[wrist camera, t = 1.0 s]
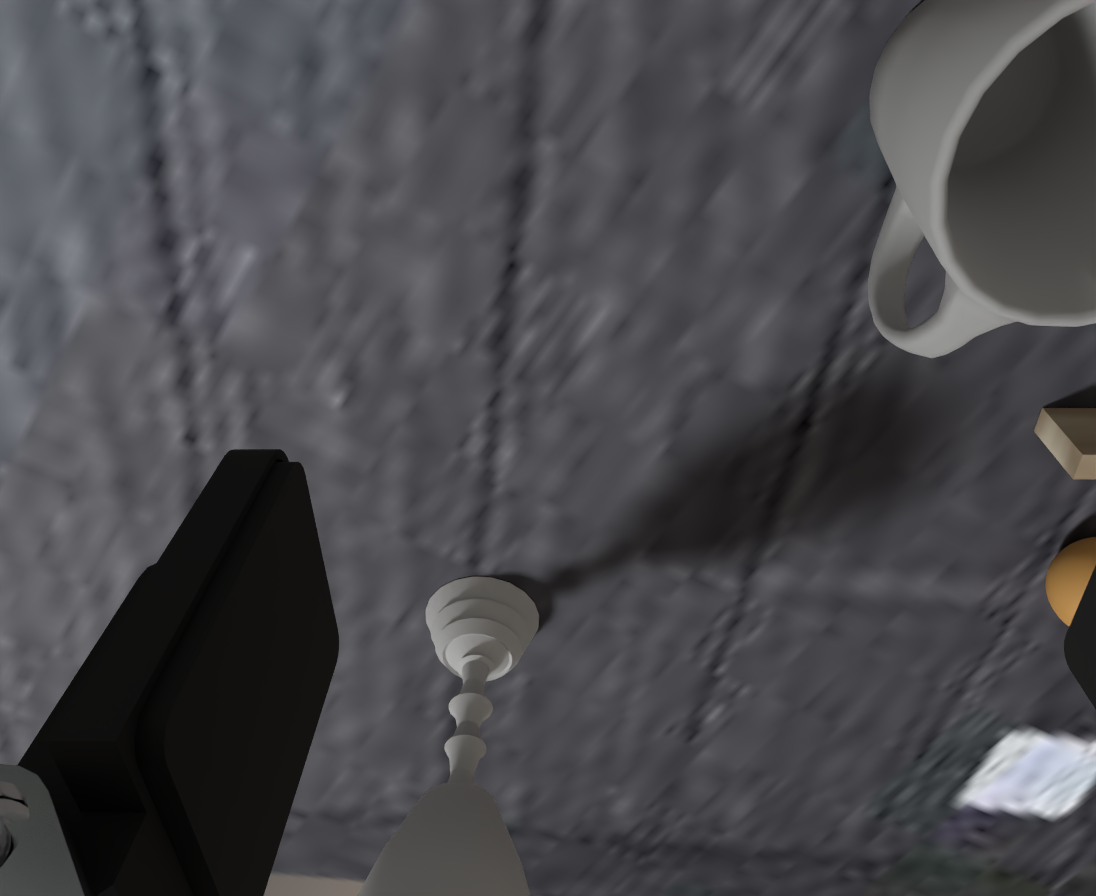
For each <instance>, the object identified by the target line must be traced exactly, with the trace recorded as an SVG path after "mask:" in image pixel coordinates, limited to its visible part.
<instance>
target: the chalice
mask: <svg viewBox="0 0 1096 896" xmlns="http://www.w3.org/2000/svg"><path fill="white" fill-rule="evenodd" d="M426 623H427V625H428V627H429V629H430V631H431V638H432V640H433V642H434V644H435V647H436V653H437V655H438V657H439V659H440V661H441V662H442V663H443V664H444V665H445V666H446V667H447V668H448V669H449V670H450V671H451V672H452V673H453V674H455V675H457V676H459V677H461V678H463V687H462V689H461V692H460V694H459V695H458V696H456V697H454V698H453V699H452V700H451V701H450V704H449V711H450V713H451V714H452V715H453V716H454V717H455V718H456V723H457V729H456V731H455V733H454V735H453V737H451V738H450V739H449V740H448V741H447V742H446V744H445V751H446V754H447V755H448V757H449V760H450V773H451V775H450V778H449V780H448V783H444V784H439V785H437V786H435V787H432V788H430V789H429V790H428V791H426V792H425V793H424V794H423V795H422V797H421V798H420V799H419V801H418V802H417V803H416V805H415V806H414V807H413V809H412V810H411V811H410V813H409V814H408V815H407V817H406V818H405V820H404V821H403V822H402V824H401V825H400V826H399V828H398V829H397V830H396V832H395V833H394V834H393V836H392V837H391V838H390V840H389V841H388V842H387V844H386V845H385V847H384V849H383V850H382V852H381V854H380V856H379V858H378V859H377V861H376V863H375V865H374V867H373V868H372V870H371V872H370V874H369V876H368V877H367V879H366V881H365V883H364V885H363V886H362V888H361V890H360V892H359V894H358V895H357V896H530V893H529V889H528V885H527V882H526V878H525V874H524V871H523V867H522V863H521V861H520V859H519V856H518V854H517V852H516V849H515V847H514V845H513V842H512V840H511V837H510V835H509V833H508V830H507V828H506V826H505V823H504V821H503V818H502V816H501V814H500V811H499V809H498V807H497V804H496V802H495V800H494V798H493V796H492V795H491V794H490V793H488V792H487V791H486V790H484V789H482V788H480V787H478V786H476V785H474V777H473V776H474V773H475V770H476V767H477V765H478V762H479V760H480V759H481V758H482V757H483V756H484V755H485V753H486V745H485V743H484V742H483V740H482V739H481V735H480V730H479V728H480V726H481V723H482V721H484V720H485V719H487V718H488V717H489V716H490V715H491V713H492V711H493V706H492V704H491V702H490V701H489V700H488V699H487V698H486V696H485V689H484V685H485V682H486V681H490V680H494V679H497V678H499V677H501V676H503V675H504V674H506V673H507V672H509V671H510V670H511V669H512V668H513V667H515V666H516V665H517V663H518V661H519V659H520V657H521V655H522V654H523V653H524V652H525V650H526V648H527V646H528V644H529V643H530V642H531V641H532V640H533V638H534V636H535V634H536V632H537V630H538V628H539V614H538V611H537V609H536V606H535V603H534V602H533V601H532V600H531V599H530V597H529V596H528V595H527V594H526V593H525V592H524V591H523V590H521V589H519V588H518V587H516V586H514V585H513V584H511V583H509V582H506V581H502V580H499V579H495V578H492V577H468V578H463V579H458V580H454V581H452V582H450V583H448V584H446V585H444V586H442V587H441V588H440V589H439V590H438V591H437V592H436V593H435V594H434V595H433V596H432V597H431V598H430V600H429V603H428V605H427V608H426Z"/></svg>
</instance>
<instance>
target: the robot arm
mask: <svg viewBox="0 0 1096 896" xmlns="http://www.w3.org/2000/svg"><path fill="white" fill-rule="evenodd" d="M338 651H339V635H338V628H337V623H336V619H335V614H334V609H333V604H332V600H331V595H330V590H329V585H328V580H327V576H326V571H325V566H324V561H323V557H322V552H321V547H320V542H319V538H318V533H317V528H316V523H315V518H314V514H313V509H312V504H311V499H310V495H309V490H308V485H307V480H306V475H305V472H304V468H303V466H302V465H301V463H299V462H289V461H288V458H287V456H286V454H285V453H284V452H283V451H282V450H280V449H248V450H230V451H229V452H228V453H227V454H226V455H225V456H224V458H223V459H222V461H221V462H220V464H219V466H218V467H217V469H216V470H215V472H214V473H213V475H212V477H211V478H210V480H209V481H208V483H207V485H206V486H205V488H204V489H203V491H202V492H201V494H200V496H199V497H198V499H197V500H196V502H195V503H194V505H193V507H192V508H191V510H190V511H189V513H188V514H187V516H186V518H185V519H184V521H183V522H182V524H181V526H180V527H179V529H178V530H177V532H176V533H175V535H174V537H173V538H172V540H171V541H170V543H169V544H168V546H167V548H166V549H165V551H164V552H163V554H162V555H161V557H160V559H159V560H158V562H157V563H156V564H154V565H152V566H150V567H148V568H147V569H146V570H145V571H144V572H143V573H142V574H141V576H140V577H139V578H138V580H137V581H136V583H135V584H134V586H133V587H132V589H131V591H130V592H129V594H128V595H127V597H126V598H125V600H124V601H123V603H122V604H121V606H120V608H119V609H118V611H117V612H116V614H115V615H114V617H113V618H112V620H111V621H110V623H109V625H108V626H107V628H106V629H105V631H104V632H103V634H102V635H101V637H100V638H99V640H98V642H97V643H96V645H95V646H94V648H93V649H92V651H91V652H90V654H89V655H88V657H87V659H86V660H85V662H84V663H83V665H82V666H81V668H80V669H79V671H78V672H77V674H76V676H75V677H74V679H73V680H72V682H71V683H70V685H69V686H68V688H67V689H66V691H65V693H64V694H63V696H62V697H61V699H60V700H59V702H58V703H57V705H56V706H55V708H54V710H53V711H52V713H51V714H50V716H49V717H48V719H47V720H46V722H45V723H44V725H43V727H42V728H41V730H40V731H39V733H38V734H37V736H36V737H35V739H34V740H33V742H32V744H31V745H30V747H29V748H28V750H27V751H26V753H25V754H24V756H23V757H22V759H21V761H20V762H19V764H18V765H17V766H15V765H4V764H0V896H263V895H264V892H265V889H266V886H267V882H268V879H269V876H270V873H271V870H272V867H273V864H274V860H275V857H276V854H277V851H278V848H279V844H280V841H281V838H282V835H283V832H284V829H285V825H286V822H287V819H288V816H289V813H290V809H291V806H292V803H293V800H294V797H295V794H296V790H297V787H298V784H299V781H300V778H301V775H302V771H303V768H304V765H305V762H306V759H307V755H308V752H309V749H310V746H311V743H312V740H313V736H314V733H315V730H316V727H317V724H318V720H319V717H320V714H321V711H322V708H323V705H324V701H325V698H326V695H327V692H328V689H329V685H330V682H331V679H332V676H333V673H334V670H335V666H336V663H337V658H338ZM1064 652H1065V658H1066V661H1067V664H1068V666H1069V668H1070V670H1071V672H1072V673H1073V675H1074V676H1075V678H1076V679H1077V681H1078V683H1079V684H1080V686H1081V687H1082V689H1083V690H1084V692H1085V693H1086V695H1087V697H1088V698H1089V700H1090V701H1091V703H1092V704H1093V706H1094V707H1095V709H1096V565H1095V568H1094V570H1093V572H1092V575H1091V577H1090V579H1089V582H1088V584H1087V586H1086V589H1085V591H1084V593H1083V596H1082V598H1081V600H1080V603H1079V605H1078V608H1077V610H1076V612H1075V615H1074V617H1073V619H1072V622H1071V624H1070V626H1069V629H1068V631H1067V633H1066V637H1065V640H1064Z"/></svg>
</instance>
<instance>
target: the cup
mask: <svg viewBox="0 0 1096 896" xmlns="http://www.w3.org/2000/svg"><path fill="white" fill-rule="evenodd" d="M869 101H870V121H871V124H872V127H873V130H874V134H875V137H876V140H877V143H878V145H879V147H880V149H881V152H882V154H883V156H884V158H885V160H886V163H887V165H888V167H889V169H890V171H891V173H892V176H893V178H894V180H895V182H896V190H895V193H894V195H893V198H892V201H891V203H890V206H889V209H888V212H887V214H886V217H885V220H884V223H883V226H882V228H881V231H880V234H879V237H878V240H877V243H876V246H875V249H874V252H873V255H872V261H871V267H870V273H869V279H868V293H869V305H870V309H871V313H872V316H873V320H874V323H875V325H876V327H877V328H878V330H879V331H880V333H881V334H882V336H884V337H885V338H886V339H887V340H889V341H890V342H891V343H893V344H894V345H895V346H897V347H899V348H901V349H903V350H905V351H908V352H910V353H913V354H917V355H921V356H925V357H929V358H935V357H938V356H942V355H946V354H948V353H950V352H952V351H954V350H956V349H958V348H960V347H962V346H963V345H964V344H966V343H967V342H968V341H970V340H971V339H972V338H974V337H976V336H978V335H980V334H983V333H985V332H987V331H990V330H992V329H995V328H997V327H999V326H1003V325H1006V324H1010V323H1013V322H1016V321H1019V322H1022V323H1025V324H1029V325H1041V326H1071V327H1078V326H1083V325H1088V324H1093V323H1096V0H924V1H923V2H922V3H921V4H920V5H919V6H917V7H916V8H915V9H914V10H913V11H912V12H910V13H909V14H908V15H907V16H906V17H905V19H904V20H903V21H902V23H901V24H900V25H899V27H898V28H897V29H896V31H895V32H894V33H893V34H892V36H891V37H890V38H889V40H888V41H887V44H886V46H885V48H884V50H883V52H882V54H881V56H880V58H879V61H878V63H877V65H876V67H875V71H874V75H873V80H872V85H871V89H870V94H869ZM924 236H925V237H926V239H927V241H928V242H929V244H930V246H931V247H932V249H933V251H934V253H935V254H936V256H937V258H938V260H939V261H940V263H941V264H942V266H943V267H944V268H945V270H946V279H945V291H944V294H943V297H942V301H941V304H940V307H939V310H938V311H937V312H936V313H935V314H933V315H932V316H931V317H930V318H929V319H928V320H926V321H924V322H923V323H921V324H920V325H918V326H916V327H914V328H910V327H909V326H908V322H907V318H906V315H905V311H904V289H905V285H906V280H907V276H908V272H909V268H910V265H911V263H912V260H913V258H914V255H915V253H916V250H917V247H918V246H919V244H920V242H921V241H922V239H923V238H924Z"/></svg>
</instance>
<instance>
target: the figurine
mask: <svg viewBox="0 0 1096 896" xmlns="http://www.w3.org/2000/svg"><path fill="white" fill-rule="evenodd" d="M1095 565H1096V537H1090V538H1085V539H1082V540H1079V541H1076V542H1074V543H1072V544H1070V545H1068V546H1067V547H1065V548H1064V549H1063V550H1061V551H1060V552H1059V553H1058V554H1057V555H1056V557H1055V558H1054V559H1053V561H1052V562H1051V564H1050V566H1049V569H1048V572H1047V576H1046V592H1047V597H1048V600H1049V602H1050V604H1051V606H1052V608H1053V610H1054V611H1055V613H1056V614H1057V615H1058V617H1059V618H1060V619H1061V620H1062V621H1063V622H1064V623H1065V624H1067V625H1068V626H1070V624H1071V622H1072V619H1073V617H1074V615H1075V612H1076V610H1077V608H1078V605H1079V603H1080V600H1081V598H1082V596H1083V593H1084V591H1085V589H1086V586H1087V584H1088V582H1089V579H1090V577H1091V575H1092V572H1093V570H1094V568H1095Z"/></svg>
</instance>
